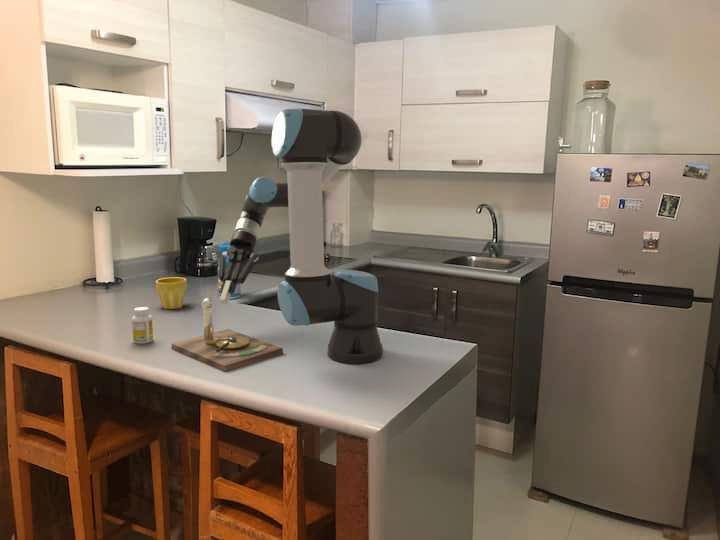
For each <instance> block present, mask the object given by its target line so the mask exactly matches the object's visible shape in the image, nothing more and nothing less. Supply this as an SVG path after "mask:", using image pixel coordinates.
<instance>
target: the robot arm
mask: <svg viewBox="0 0 720 540" xmlns="http://www.w3.org/2000/svg"><path fill="white" fill-rule="evenodd" d="M361 147H362V133H361V130H360V127H359V125H358V123H357V121H355V120H354V118H352V117H351V116H350V115H349V114H347V113H346V112H342V111H340V110H323V109H313V108H312V109H310V108H286V109H283V110H281V111H279V113H278V115H277V116H276V118H275V120H274V123H273V126H272V133H271V149H272V153H273V155H274V156H275V157H276V158H278V159H280V166H281V167H282V168H283V169H284V170H285V171H286V172H287V173H286V176H287V177H286V178H287V182H276V181H274V179H272V178H270V177H267V176H259V177H257V178H256V179H255V180H254V181H253V182H252V184H251V185H250V187H249V191H248V193H247V195H246V197H245V199H244V200H243V201H244V202H243V204H242V207H241V210H240V213H239V217H238V220H237V222H236V224H235V228H234V230H233V233H232V237H231V238H230V241H229V244H230V246H229V247H228V248H227V251H225V252H223V253H222V252H217V255H218V257H219V258H220V259H219V258H218V260H219V265H218V267H219V272H218V271H217V279H218V278H219V279H220V281H221V282H223V283H222V286H221V292H222V294H221V297H219V301H220V302H221V304H222V305H228V304H229V301H230V299H229V298H230V295H231V294H233V293H234V291H235V288H236V285H237V284H239V283H240V285H243V284H244V283H245V282H246V280H247V278H248V276H249V275H250V273H251V271H252V270H253V268H254V266H255V265H256V264H257V263H258V262H259V261H260V258H259V256H258V254H257V253H255V252H254V251H255V248H256V244H257V242H258V241H257V240H258V238H259V236H260V231H261V229H262V225H263V222H264V219H265V217H266V214H267V212H268V211H269V209H270V208H271V209H272V208H288V227H289V228H288V230H289V258H290V261H289V262H290V266H289V268H287V270H286V271H285V272H284V280H282V281H281V282H279V284H278V285H277V294H276V295H277V301H278V306H279V308H280V311H281V314H282V316H283V318H284V321H286V323H288V324H289V325H291V326H294V327H297V326H310V325H317V324H324V323H330V322H334V323H333V330H332V333H331V336H330V339H329V342H328V345H327V357H329V359H331V360H332V361H336V362H339V363H343V364H353V365H354V364H355V365H356V364H357V365H358V364H359V365H360V364H368V363H373V362H375V361H379V360H380V359H381V358H383V355H384V353H383V352H384V347H383V344H382V343H381V339H380V334H379V331H378V297H379V286H378V278H377V277H376V276H375V275H374V274H372V273H370V272H366V271H362V270H361V271H360V270H356V269H355V270H354V269H336V270H335V271H334V273H333V276H332V277H331V271H330V270H329V269H328V268H327V267H326V266H325V246H324V212H323V210H324V209H323V207H324V206H323V187H324V186H325V185H326V184H327V183H328V182H329V181H330V179H331V178H332V177H334V175H335V174H336V173H337V171H339V169H341V167H342V166H346V165H349V164H350V163H351V162H352V161H353V160H354V159H355V158H356V157H357V155H358V154H359V152H360V150H361ZM227 255H228V256H229V263H228V266H227V269H226V259H227ZM235 266H236V267H235ZM234 268H235V270H234ZM225 269H226V272H225ZM233 271H234V273H233ZM232 274H233V276H232ZM231 277H232V279H231ZM230 280H232V281H230Z"/></svg>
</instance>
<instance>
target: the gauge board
mask: <svg viewBox="0 0 720 540" xmlns="http://www.w3.org/2000/svg"><path fill="white" fill-rule="evenodd" d="M213 335H214V338H222V337H227V336H243V337H246V338H248V339H249V345H248V346H246V347H244V348H240V349H233V350H226V349H222V350H221V351H219V352H216V350H217V349H218V348H217V347H216V344H205V340H204V334H203V335H200V336H196V337H191V338H188V339H184V340H180V341H176V342H174V343H171V349H172V350H174V351H176V352H178V353H181V354H183V355H186V356H188V357H190V358H193V359H195V360H197V361H200V362H202V363H204V364H205V365H209V366H212V367H213V368H216V369H218V370H220V371H223V372H229V371H231V369H232V370H234V368H235V369H238V368H241V367H244V366H247V364H248V365H250V364H249V363H251V364H253V362H254V363H257V362H259V360H260V361H263V360H265V359H270V358H273V357H276V356H279V355H281V354H283V353H284V347H281V346H278V345H275V344H273V343H270V342H267V341H264V340H261V339H257V338H255V337H253V336H249V335H247V334H243V333H240V332H237V331H234V330H232V329H229V328H228V329H223V330H219V331H217V332H216V331H215V332H213ZM272 356H273V357H272ZM269 357H270V358H269ZM262 359H263V360H262ZM256 361H257V362H256ZM240 366H241V367H240ZM237 367H238V368H237ZM228 370H229V371H228Z"/></svg>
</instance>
